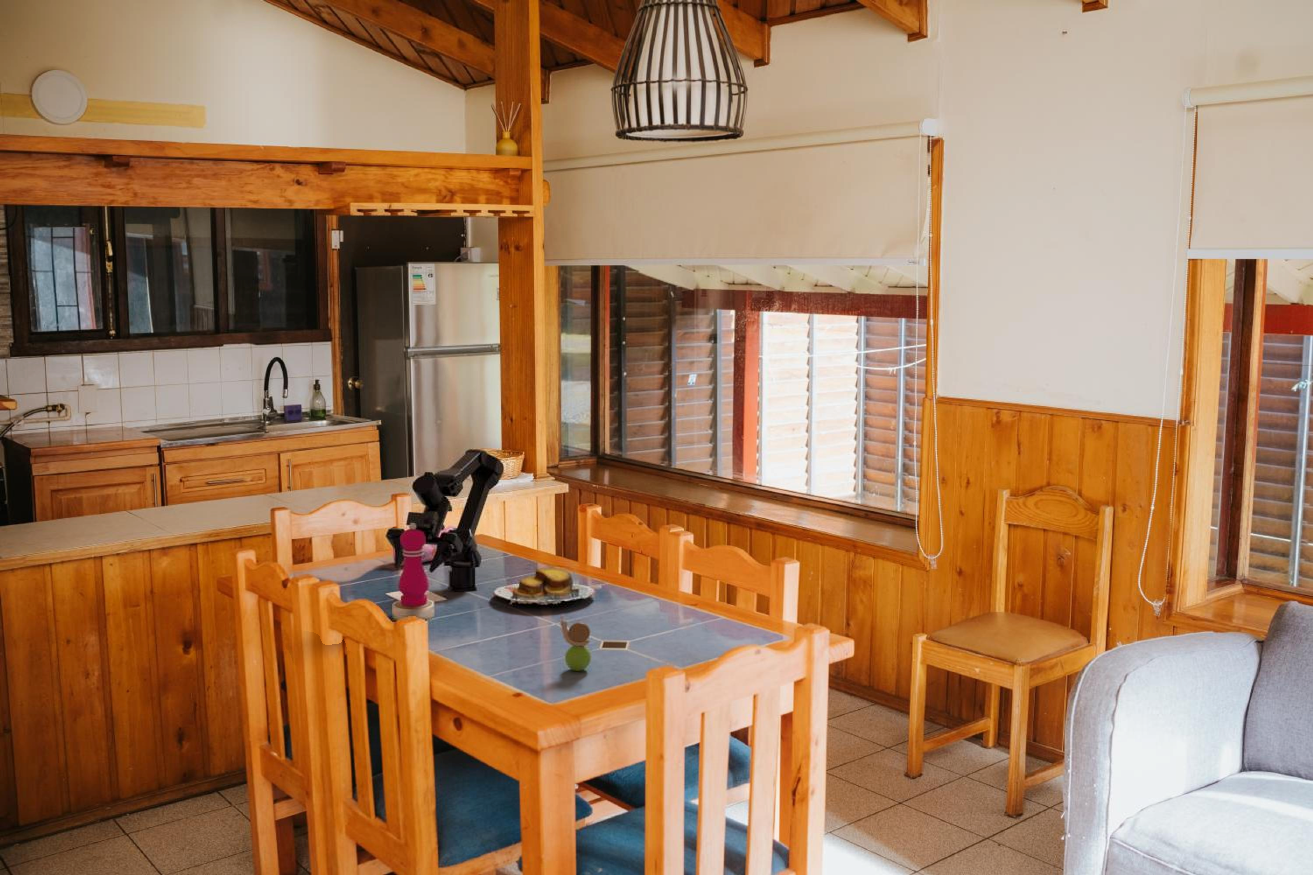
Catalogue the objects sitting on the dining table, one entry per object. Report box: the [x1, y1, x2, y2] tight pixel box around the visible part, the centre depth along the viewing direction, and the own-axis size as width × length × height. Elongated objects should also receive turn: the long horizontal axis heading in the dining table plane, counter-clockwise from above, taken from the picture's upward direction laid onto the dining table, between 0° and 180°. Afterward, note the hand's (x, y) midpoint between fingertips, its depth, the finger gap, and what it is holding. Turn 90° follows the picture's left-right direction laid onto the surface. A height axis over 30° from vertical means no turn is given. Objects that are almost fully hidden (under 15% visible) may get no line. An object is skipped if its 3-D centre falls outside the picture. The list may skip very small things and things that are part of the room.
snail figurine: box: [560, 614, 592, 672], centre depth 248 cm, size 5×6×12 cm
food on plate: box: [492, 567, 596, 606], centre depth 303 cm, size 26×26×7 cm
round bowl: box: [391, 599, 435, 621], centre depth 286 cm, size 10×10×3 cm
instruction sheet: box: [385, 590, 448, 603], centre depth 303 cm, size 10×14×1 cm
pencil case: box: [392, 525, 457, 567], centre depth 342 cm, size 21×9×9 cm, turn 135°
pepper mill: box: [398, 523, 430, 607], centre depth 285 cm, size 7×7×20 cm
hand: (413, 570), depth 285 cm, fingers open, 9 cm apart
